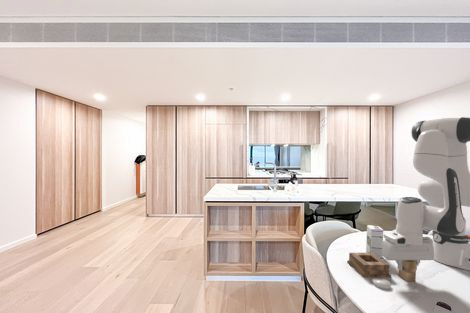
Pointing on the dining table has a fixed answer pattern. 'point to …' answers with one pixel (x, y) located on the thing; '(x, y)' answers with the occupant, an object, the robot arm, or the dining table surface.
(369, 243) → the syrup box
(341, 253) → the dining table surface
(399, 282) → the dining table surface
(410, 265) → the oak peg
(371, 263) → the socket block
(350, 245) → the dining table surface
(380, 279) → the grey flat pebble
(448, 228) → the robot arm
